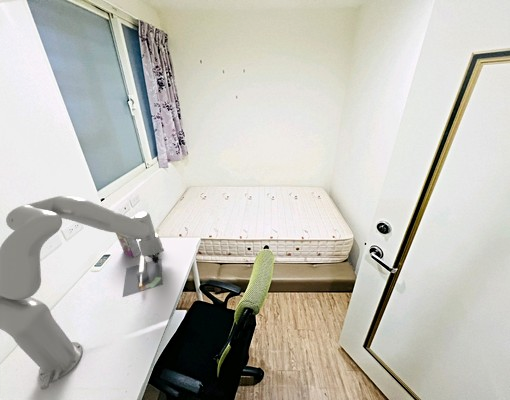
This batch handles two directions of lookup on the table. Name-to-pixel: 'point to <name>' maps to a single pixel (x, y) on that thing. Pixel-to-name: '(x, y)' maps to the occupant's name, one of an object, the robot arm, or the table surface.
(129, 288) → the tuner board
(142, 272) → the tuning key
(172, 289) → the table surface
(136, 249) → the candy bar box
